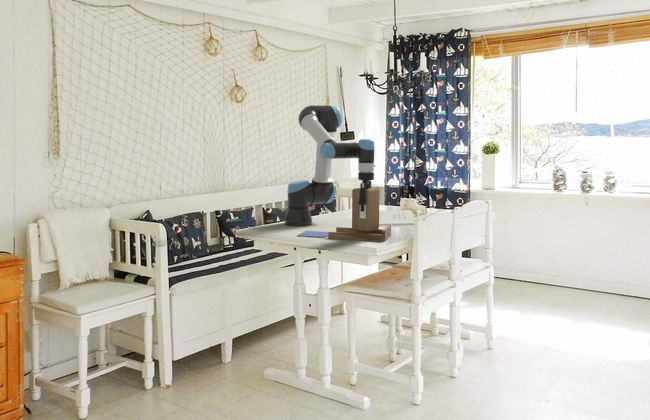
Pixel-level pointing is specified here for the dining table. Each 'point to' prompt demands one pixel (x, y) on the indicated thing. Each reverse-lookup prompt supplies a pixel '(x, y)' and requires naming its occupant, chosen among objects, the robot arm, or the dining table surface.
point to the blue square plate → (314, 234)
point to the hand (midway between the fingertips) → (365, 216)
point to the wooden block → (371, 210)
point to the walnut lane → (360, 234)
